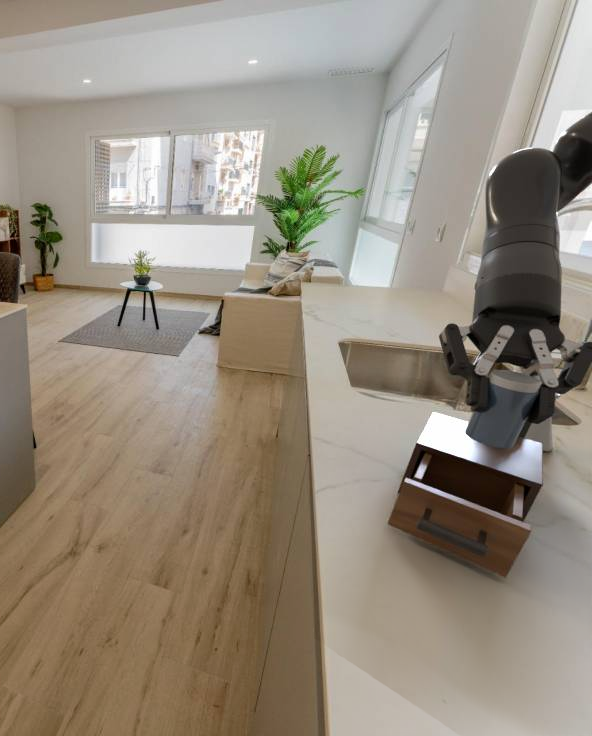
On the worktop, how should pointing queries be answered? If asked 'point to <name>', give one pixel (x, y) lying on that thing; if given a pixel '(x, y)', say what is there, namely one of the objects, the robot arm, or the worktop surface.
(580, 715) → the worktop surface
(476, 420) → the blue tumbler
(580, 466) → the worktop surface
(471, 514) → the drawer
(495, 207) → the robot arm
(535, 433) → the flask
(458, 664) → the worktop surface
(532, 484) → the cabinet
